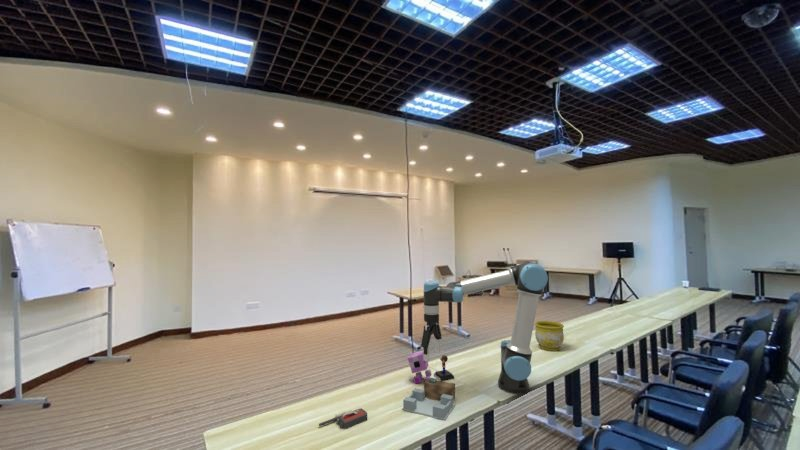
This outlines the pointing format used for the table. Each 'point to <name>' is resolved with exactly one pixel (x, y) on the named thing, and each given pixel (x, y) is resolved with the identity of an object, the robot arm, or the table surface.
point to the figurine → (443, 371)
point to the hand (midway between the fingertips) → (431, 356)
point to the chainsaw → (348, 418)
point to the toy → (418, 366)
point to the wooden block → (438, 389)
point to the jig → (428, 404)
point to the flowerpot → (549, 335)
